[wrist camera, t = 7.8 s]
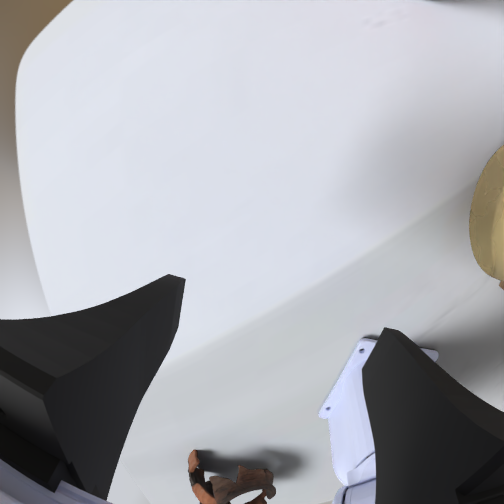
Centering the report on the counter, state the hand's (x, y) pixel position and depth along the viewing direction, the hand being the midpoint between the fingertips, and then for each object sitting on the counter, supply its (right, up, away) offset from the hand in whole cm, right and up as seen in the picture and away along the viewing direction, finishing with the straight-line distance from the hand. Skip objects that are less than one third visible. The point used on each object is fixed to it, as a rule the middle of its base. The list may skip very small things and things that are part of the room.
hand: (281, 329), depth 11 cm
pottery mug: (-4, -23, +21) cm, 31 cm away
